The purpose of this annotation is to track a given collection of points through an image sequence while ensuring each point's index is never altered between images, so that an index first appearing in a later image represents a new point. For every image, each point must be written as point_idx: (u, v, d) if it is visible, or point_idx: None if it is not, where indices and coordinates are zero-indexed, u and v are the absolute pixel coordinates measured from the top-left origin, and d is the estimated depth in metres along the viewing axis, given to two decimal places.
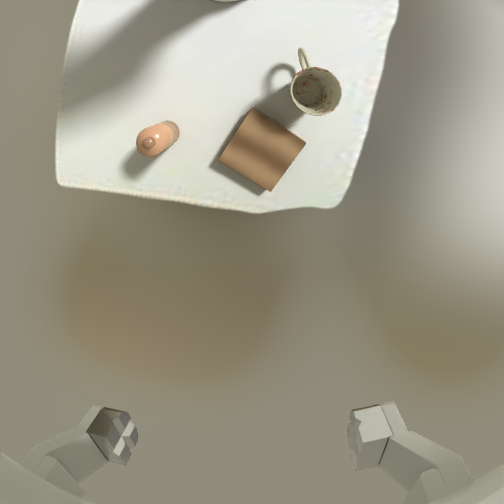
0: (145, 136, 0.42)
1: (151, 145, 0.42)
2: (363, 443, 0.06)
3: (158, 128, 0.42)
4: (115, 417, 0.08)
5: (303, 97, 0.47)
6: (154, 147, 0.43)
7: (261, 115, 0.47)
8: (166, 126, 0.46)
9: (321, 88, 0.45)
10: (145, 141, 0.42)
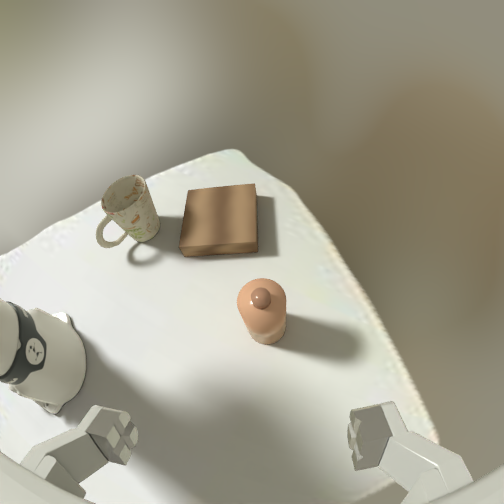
0: (256, 311, 0.29)
1: (259, 289, 0.29)
2: (363, 443, 0.06)
3: None
4: (115, 417, 0.08)
5: None
6: None
7: (182, 235, 0.44)
8: None
9: None
10: (258, 301, 0.28)
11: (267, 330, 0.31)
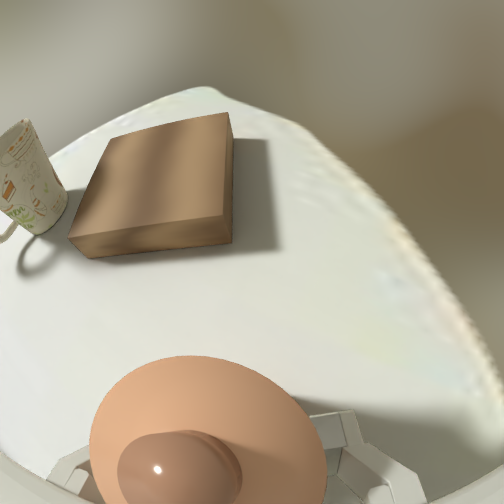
0: None
1: (165, 444, 0.04)
2: None
3: None
4: None
5: None
6: (207, 420, 0.05)
7: (77, 214, 0.19)
8: None
9: None
10: None
11: None
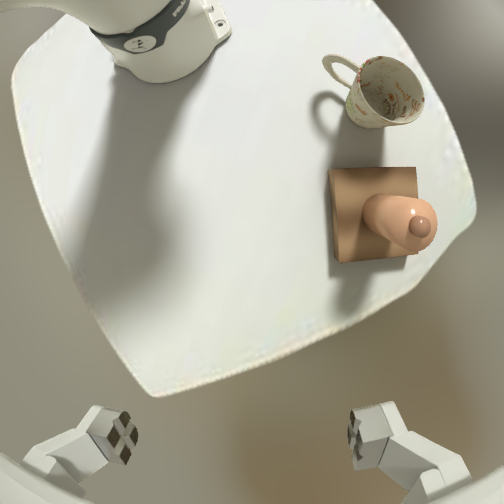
0: (406, 220, 0.24)
1: (429, 226, 0.23)
2: (363, 443, 0.06)
3: (412, 198, 0.24)
4: (115, 417, 0.08)
5: None
6: None
7: (349, 170, 0.33)
8: None
9: (377, 93, 0.31)
10: (418, 225, 0.23)
11: (384, 226, 0.27)
